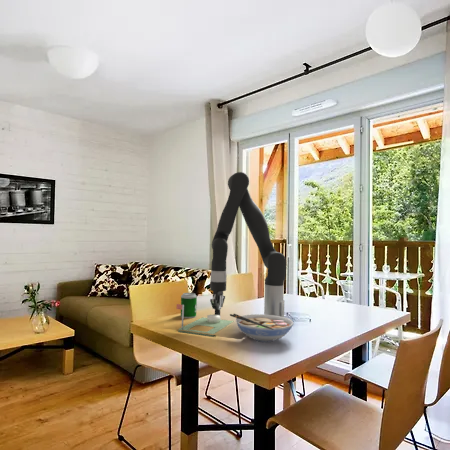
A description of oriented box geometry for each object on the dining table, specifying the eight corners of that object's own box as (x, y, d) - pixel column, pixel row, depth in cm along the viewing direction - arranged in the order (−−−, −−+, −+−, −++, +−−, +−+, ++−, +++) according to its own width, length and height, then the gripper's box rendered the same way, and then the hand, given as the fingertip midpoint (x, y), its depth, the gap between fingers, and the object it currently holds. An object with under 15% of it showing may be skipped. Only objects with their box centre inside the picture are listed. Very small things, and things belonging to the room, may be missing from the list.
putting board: (233, 323, 161) (234, 299, 162) (213, 337, 139) (214, 308, 139) (199, 319, 168) (200, 296, 168) (174, 331, 145) (175, 304, 146)
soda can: (193, 321, 164) (194, 295, 165) (178, 319, 166) (179, 294, 166) (198, 317, 172) (198, 292, 172) (183, 316, 173) (184, 292, 174)
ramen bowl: (308, 343, 133) (308, 322, 134) (261, 353, 121) (261, 329, 121) (266, 328, 154) (266, 309, 155) (222, 335, 142) (222, 315, 142)
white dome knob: (222, 320, 161) (222, 315, 161) (217, 323, 156) (217, 318, 156) (210, 319, 163) (210, 314, 164) (205, 322, 158) (205, 316, 158)
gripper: (220, 282, 157) (219, 321, 157) (230, 279, 169) (229, 315, 169) (205, 281, 160) (204, 319, 159) (216, 278, 172) (215, 313, 172)
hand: (217, 317), depth 164 cm, fingers closed
